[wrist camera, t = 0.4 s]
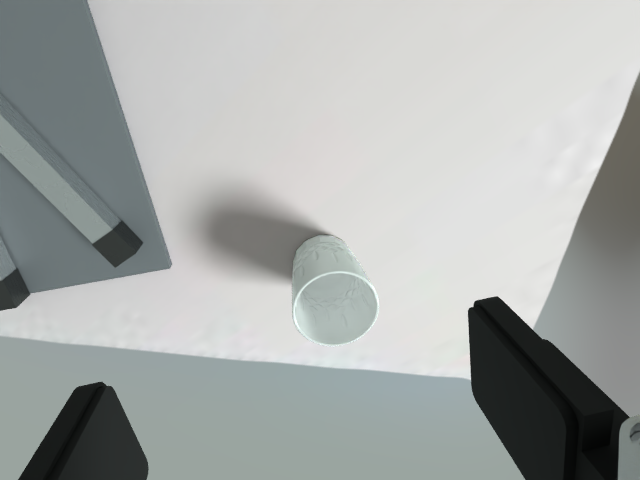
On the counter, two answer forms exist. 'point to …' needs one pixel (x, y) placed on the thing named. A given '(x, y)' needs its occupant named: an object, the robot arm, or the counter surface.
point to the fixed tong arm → (10, 282)
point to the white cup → (331, 293)
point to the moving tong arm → (64, 188)
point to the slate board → (69, 146)
